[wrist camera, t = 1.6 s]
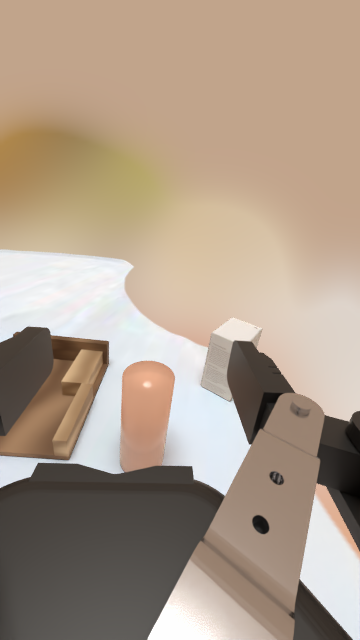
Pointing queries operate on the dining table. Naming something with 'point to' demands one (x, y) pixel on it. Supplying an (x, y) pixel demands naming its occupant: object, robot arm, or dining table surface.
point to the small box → (225, 354)
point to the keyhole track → (59, 401)
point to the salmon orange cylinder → (145, 414)
